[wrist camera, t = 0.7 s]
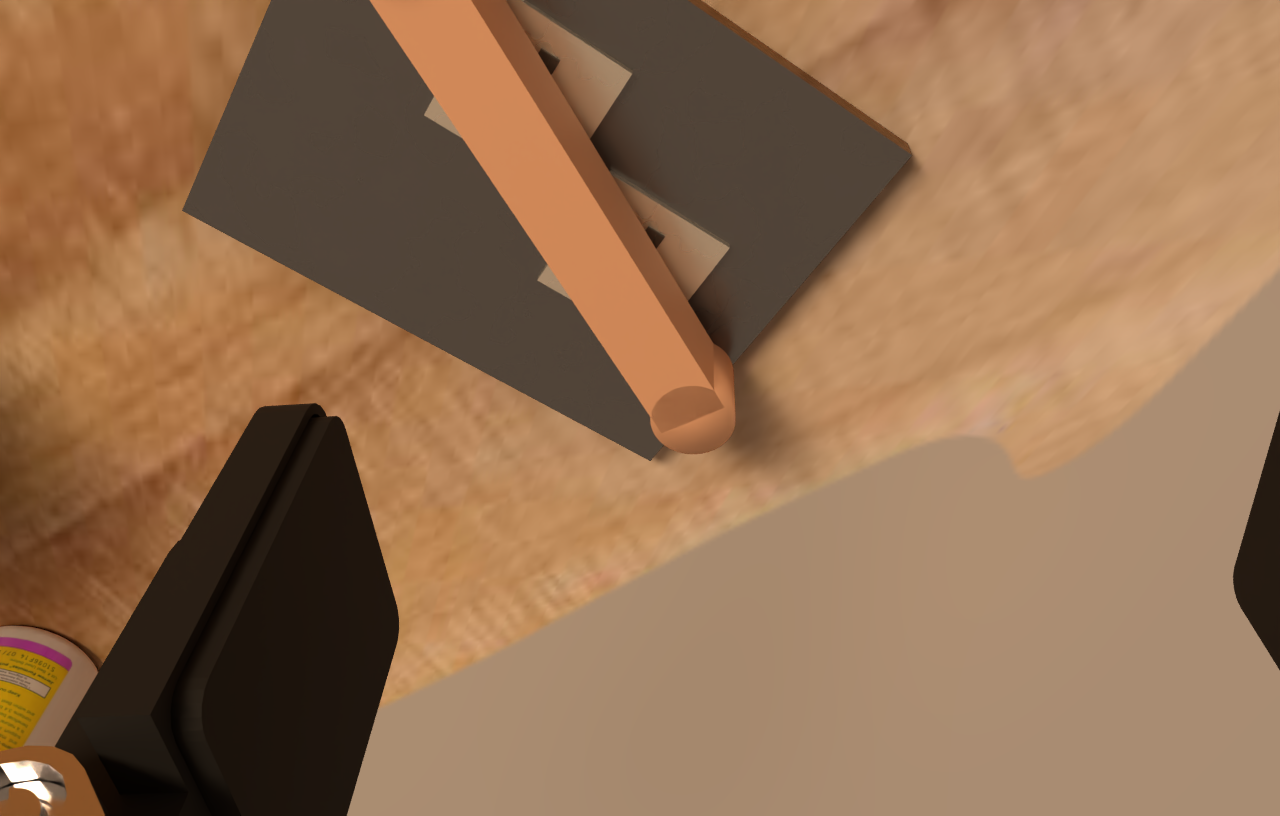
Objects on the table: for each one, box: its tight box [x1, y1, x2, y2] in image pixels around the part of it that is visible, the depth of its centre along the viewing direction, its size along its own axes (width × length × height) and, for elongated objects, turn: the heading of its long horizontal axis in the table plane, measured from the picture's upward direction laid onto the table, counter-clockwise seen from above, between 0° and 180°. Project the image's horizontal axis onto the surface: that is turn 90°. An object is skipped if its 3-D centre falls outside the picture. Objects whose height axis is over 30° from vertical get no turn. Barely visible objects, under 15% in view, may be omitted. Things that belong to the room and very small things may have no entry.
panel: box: [182, 0, 912, 461], centre depth 35 cm, size 16×20×6 cm
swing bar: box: [370, 0, 736, 454], centre depth 35 cm, size 18×3×3 cm, turn 29°
